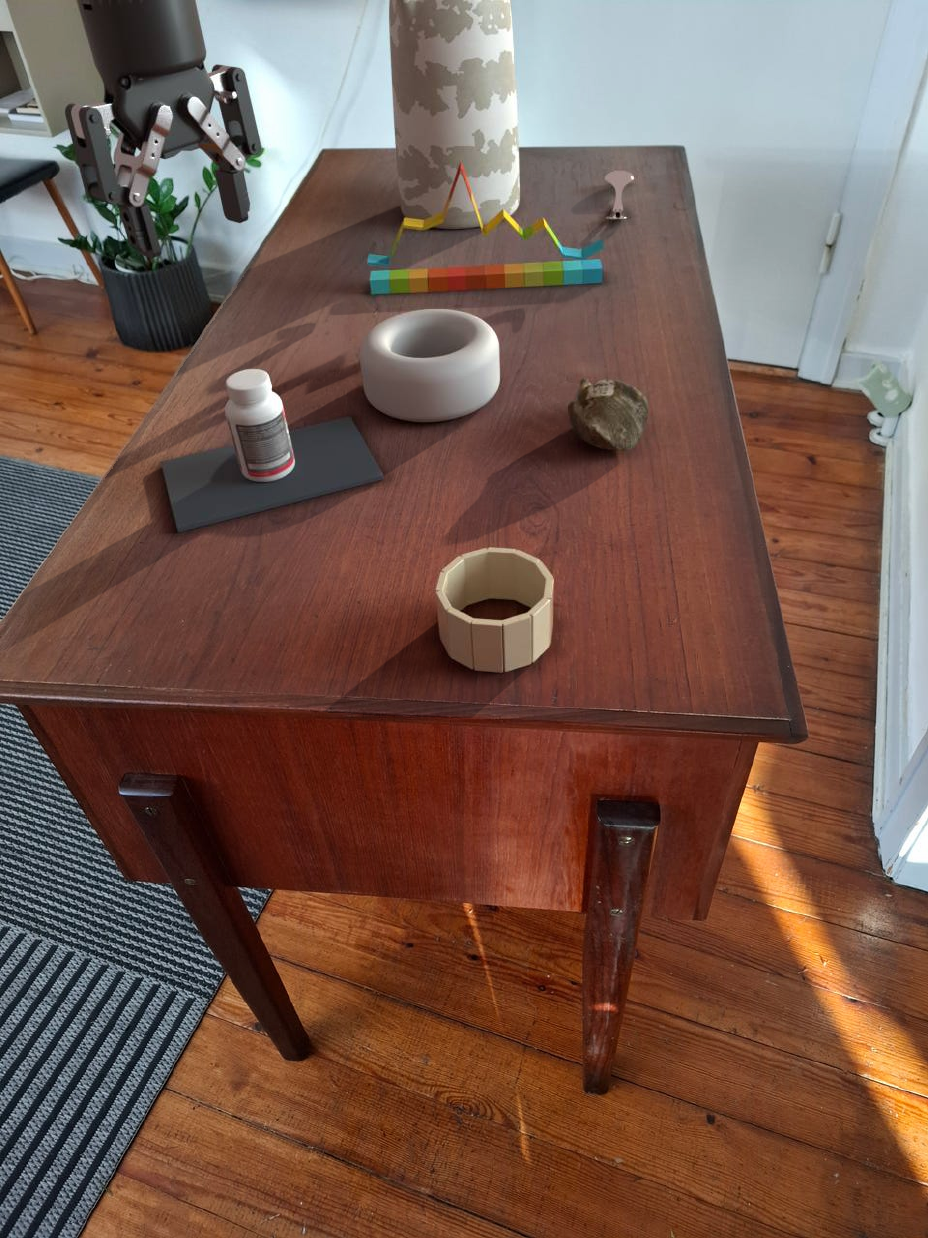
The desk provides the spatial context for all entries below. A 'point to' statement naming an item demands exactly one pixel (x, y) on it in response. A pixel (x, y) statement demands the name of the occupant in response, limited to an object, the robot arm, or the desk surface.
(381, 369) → the fat ring
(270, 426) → the pill bottle
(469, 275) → the chart
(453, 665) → the desk surface
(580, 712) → the desk surface
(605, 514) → the desk surface
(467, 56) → the vase
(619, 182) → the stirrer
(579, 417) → the fossilized seashell
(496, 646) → the bracelet
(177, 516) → the mat
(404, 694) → the desk surface
